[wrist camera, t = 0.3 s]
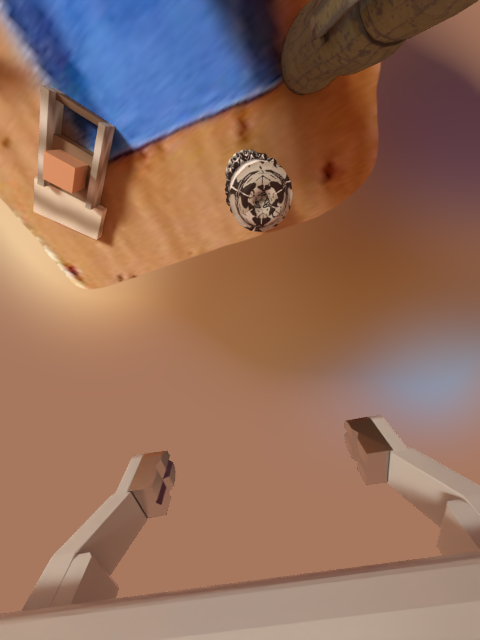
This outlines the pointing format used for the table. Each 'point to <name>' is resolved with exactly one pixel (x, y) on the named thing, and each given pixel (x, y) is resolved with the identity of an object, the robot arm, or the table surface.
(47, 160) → the terracotta block
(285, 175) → the decorative candle
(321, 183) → the table surface
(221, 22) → the table surface
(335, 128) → the table surface
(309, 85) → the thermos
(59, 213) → the trap channel
